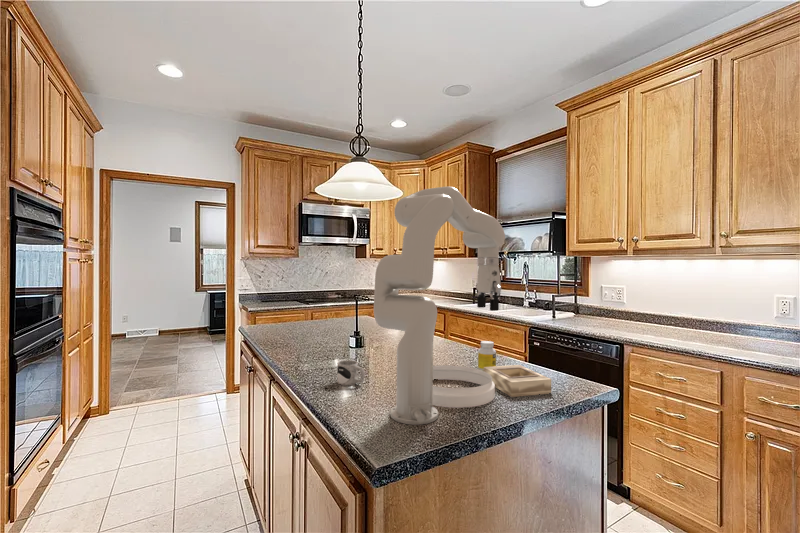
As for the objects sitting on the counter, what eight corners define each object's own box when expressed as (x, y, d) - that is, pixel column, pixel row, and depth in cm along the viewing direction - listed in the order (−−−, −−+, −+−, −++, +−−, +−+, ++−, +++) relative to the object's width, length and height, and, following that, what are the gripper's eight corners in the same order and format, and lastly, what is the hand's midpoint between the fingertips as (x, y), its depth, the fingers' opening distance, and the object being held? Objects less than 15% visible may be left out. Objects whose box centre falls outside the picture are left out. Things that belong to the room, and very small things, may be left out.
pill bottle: (491, 377, 139) (491, 344, 139) (474, 374, 143) (475, 342, 143) (498, 373, 144) (499, 341, 144) (482, 370, 148) (482, 339, 148)
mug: (333, 383, 130) (333, 363, 130) (345, 378, 136) (345, 359, 136) (357, 388, 125) (358, 367, 125) (369, 383, 131) (369, 363, 131)
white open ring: (496, 412, 107) (496, 392, 107) (400, 404, 112) (400, 385, 112) (493, 383, 133) (493, 367, 133) (415, 377, 139) (415, 362, 139)
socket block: (551, 393, 122) (551, 378, 122) (511, 397, 118) (511, 381, 118) (519, 377, 139) (519, 364, 139) (483, 380, 136) (483, 366, 136)
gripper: (509, 262, 136) (509, 311, 136) (486, 262, 153) (485, 306, 153) (490, 262, 134) (489, 312, 134) (468, 262, 151) (468, 306, 151)
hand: (487, 308), depth 144 cm, fingers open, 9 cm apart
